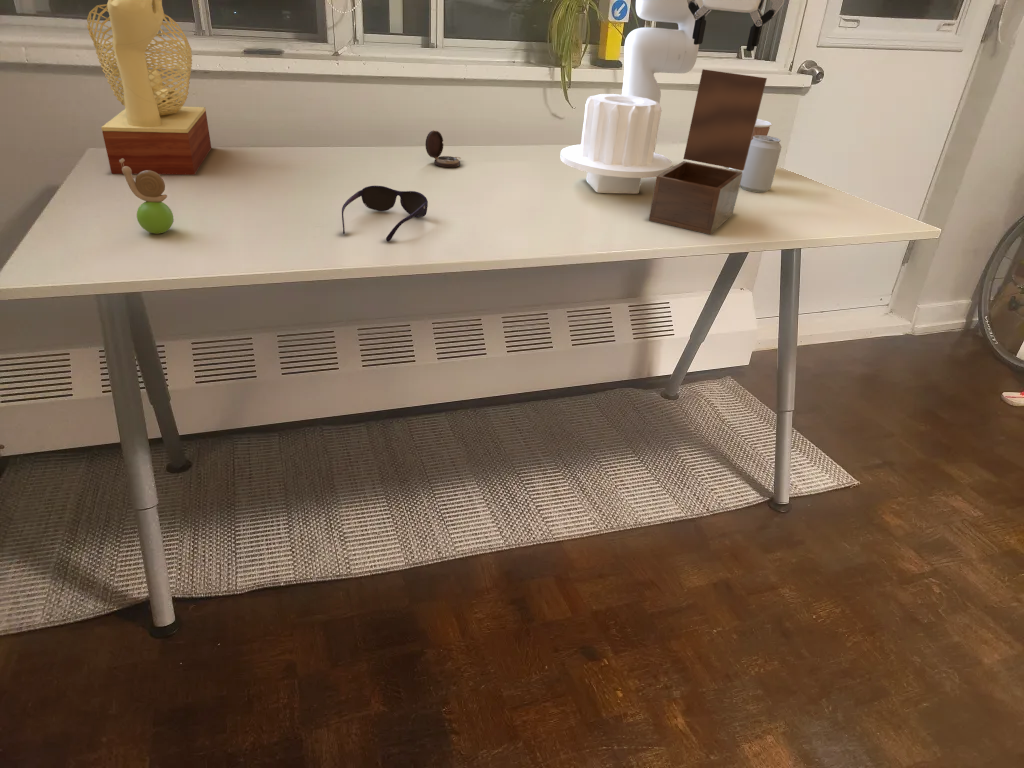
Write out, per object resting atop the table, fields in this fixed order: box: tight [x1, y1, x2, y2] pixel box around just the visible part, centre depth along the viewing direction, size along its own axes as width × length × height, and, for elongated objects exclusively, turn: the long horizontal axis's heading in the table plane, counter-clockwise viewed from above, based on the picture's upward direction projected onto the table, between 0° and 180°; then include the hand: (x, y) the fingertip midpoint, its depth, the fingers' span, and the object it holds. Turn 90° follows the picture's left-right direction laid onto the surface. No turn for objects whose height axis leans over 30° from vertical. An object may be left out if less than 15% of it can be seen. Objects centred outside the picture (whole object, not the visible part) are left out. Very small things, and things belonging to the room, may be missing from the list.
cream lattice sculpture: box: [86, 0, 212, 176], centre depth 146 cm, size 25×18×35 cm
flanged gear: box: [559, 93, 673, 195], centre depth 158 cm, size 25×25×19 cm
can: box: [740, 135, 782, 193], centre depth 167 cm, size 8×8×12 cm
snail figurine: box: [119, 158, 174, 235], centre depth 116 cm, size 5×6×12 cm
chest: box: [648, 160, 743, 235], centre depth 145 cm, size 17×13×9 cm
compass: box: [424, 129, 462, 168], centre depth 168 cm, size 8×8×7 cm
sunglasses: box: [341, 185, 429, 242], centre depth 128 cm, size 14×16×5 cm
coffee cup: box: [728, 118, 773, 172], centre depth 184 cm, size 10×10×12 cm
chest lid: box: [683, 69, 768, 170], centre depth 146 cm, size 18×13×6 cm
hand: (723, 47), depth 128 cm, fingers open, 9 cm apart
